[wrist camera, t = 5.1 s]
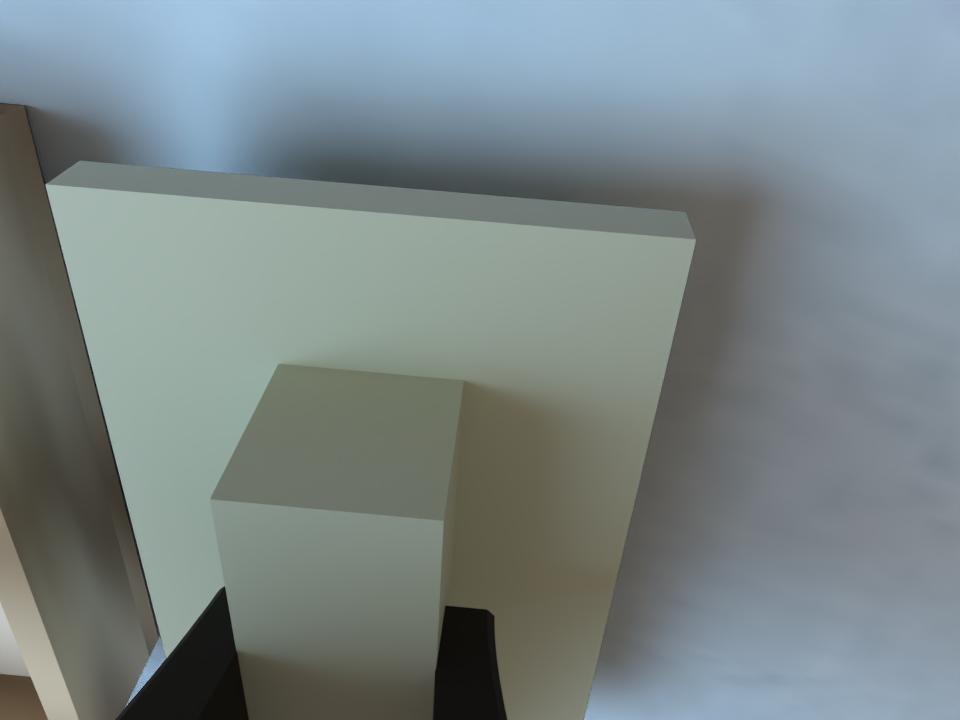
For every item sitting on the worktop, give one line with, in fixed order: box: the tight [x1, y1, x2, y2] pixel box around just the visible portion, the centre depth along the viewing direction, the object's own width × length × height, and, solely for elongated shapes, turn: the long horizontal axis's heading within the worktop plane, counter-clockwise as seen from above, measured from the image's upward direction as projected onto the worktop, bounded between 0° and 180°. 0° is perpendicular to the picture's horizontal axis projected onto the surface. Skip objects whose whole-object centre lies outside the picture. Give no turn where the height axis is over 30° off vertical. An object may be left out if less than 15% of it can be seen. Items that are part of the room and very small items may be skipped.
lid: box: [45, 161, 696, 720], centre depth 12 cm, size 12×7×4 cm, turn 176°
